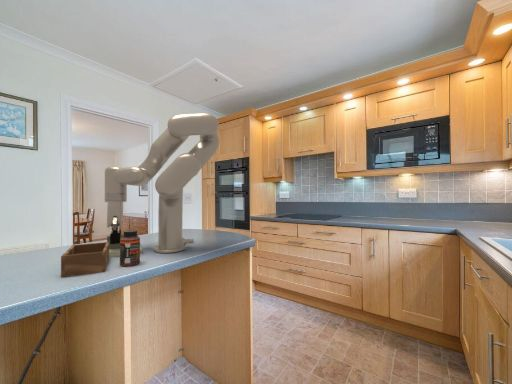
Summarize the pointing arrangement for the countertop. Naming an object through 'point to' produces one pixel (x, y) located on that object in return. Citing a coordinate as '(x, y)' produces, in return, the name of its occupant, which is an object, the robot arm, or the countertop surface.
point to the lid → (116, 248)
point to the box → (85, 259)
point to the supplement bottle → (130, 248)
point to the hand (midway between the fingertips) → (115, 241)
